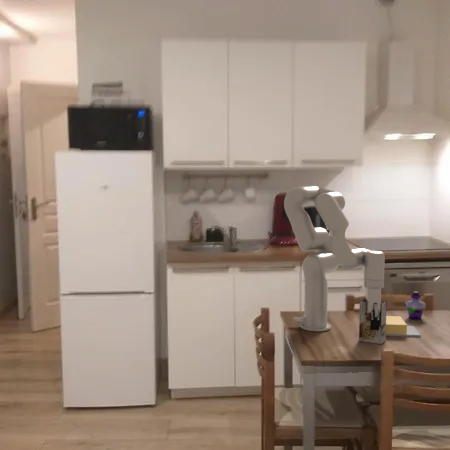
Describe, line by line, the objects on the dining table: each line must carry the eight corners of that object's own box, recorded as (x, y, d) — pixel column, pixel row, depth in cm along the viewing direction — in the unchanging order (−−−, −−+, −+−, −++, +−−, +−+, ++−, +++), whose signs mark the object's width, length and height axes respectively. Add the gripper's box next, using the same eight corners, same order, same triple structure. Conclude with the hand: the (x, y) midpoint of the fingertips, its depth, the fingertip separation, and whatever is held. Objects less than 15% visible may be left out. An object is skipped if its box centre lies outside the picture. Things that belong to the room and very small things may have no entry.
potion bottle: (403, 319, 269) (404, 292, 268) (405, 314, 277) (406, 288, 275) (424, 321, 266) (425, 294, 264) (425, 316, 274) (426, 290, 272)
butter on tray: (364, 335, 245) (364, 323, 245) (360, 326, 258) (360, 315, 258) (420, 336, 243) (421, 325, 243) (413, 327, 256) (413, 316, 256)
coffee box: (386, 340, 239) (387, 300, 237) (381, 344, 233) (382, 303, 232) (363, 336, 244) (364, 297, 242) (358, 340, 238) (359, 300, 236)
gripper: (361, 278, 245) (359, 320, 247) (367, 287, 228) (366, 332, 230) (380, 278, 244) (378, 320, 246) (387, 288, 227) (386, 333, 229)
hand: (372, 326), depth 238 cm, fingers closed on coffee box, 8 cm apart
